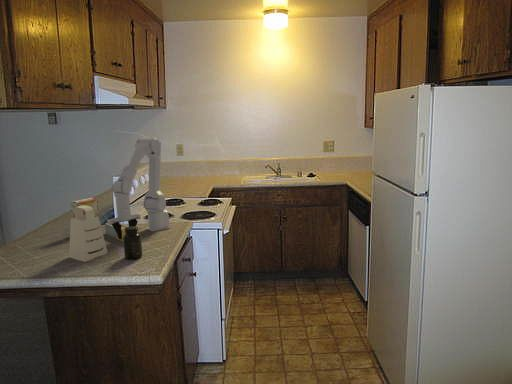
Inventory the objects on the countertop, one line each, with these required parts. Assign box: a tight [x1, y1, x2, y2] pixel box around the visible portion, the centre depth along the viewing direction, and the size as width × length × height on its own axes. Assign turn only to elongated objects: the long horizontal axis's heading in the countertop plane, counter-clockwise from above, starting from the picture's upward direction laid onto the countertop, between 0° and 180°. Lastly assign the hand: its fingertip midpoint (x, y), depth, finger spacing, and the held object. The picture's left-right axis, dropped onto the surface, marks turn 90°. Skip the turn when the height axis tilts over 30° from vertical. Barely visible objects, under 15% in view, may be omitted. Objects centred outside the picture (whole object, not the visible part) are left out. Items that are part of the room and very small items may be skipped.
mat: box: [103, 233, 151, 248], centre depth 195 cm, size 13×26×1 cm, turn 42°
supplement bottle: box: [123, 225, 143, 261], centre depth 168 cm, size 7×7×12 cm
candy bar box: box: [70, 197, 100, 230], centre depth 203 cm, size 11×5×16 cm, turn 149°
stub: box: [116, 225, 129, 241], centre depth 192 cm, size 5×6×5 cm
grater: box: [68, 205, 108, 263], centre depth 171 cm, size 10×10×20 cm
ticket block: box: [104, 222, 126, 239], centre depth 199 cm, size 5×12×5 cm, turn 41°
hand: (126, 237), depth 192 cm, fingers closed on stub, 5 cm apart
